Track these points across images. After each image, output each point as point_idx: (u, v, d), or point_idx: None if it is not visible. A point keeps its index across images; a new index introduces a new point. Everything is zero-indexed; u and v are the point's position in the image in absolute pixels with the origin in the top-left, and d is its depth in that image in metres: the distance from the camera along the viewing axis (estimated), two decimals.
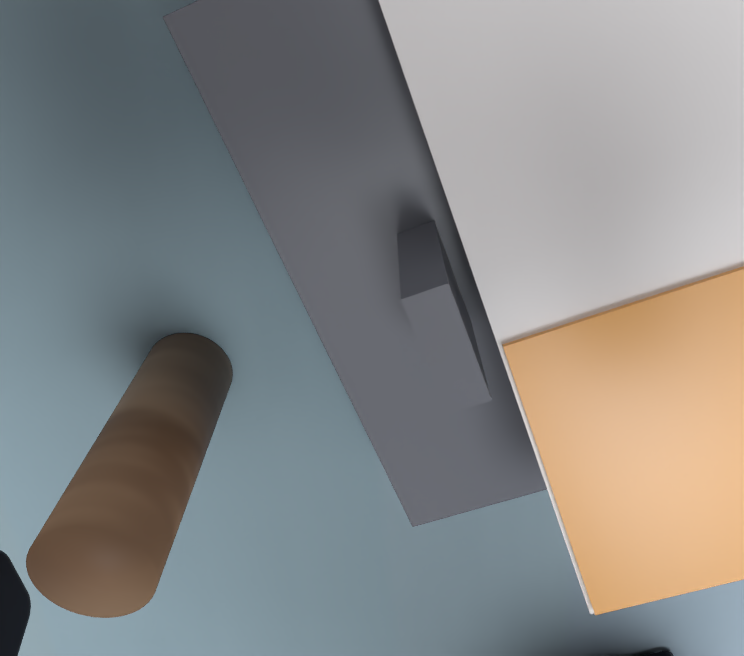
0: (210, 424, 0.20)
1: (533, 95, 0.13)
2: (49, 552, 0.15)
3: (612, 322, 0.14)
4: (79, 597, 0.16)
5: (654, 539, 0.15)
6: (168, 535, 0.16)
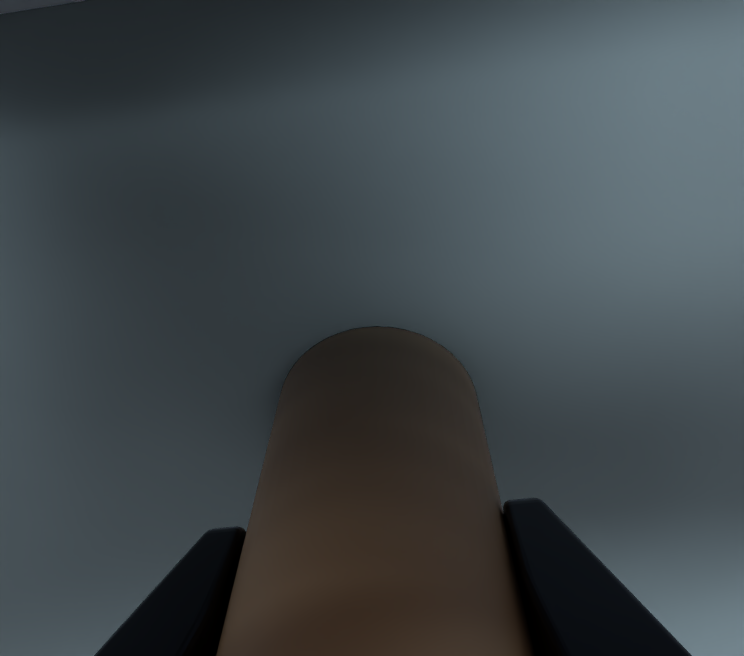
0: (400, 490, 0.06)
1: None
2: None
3: None
4: None
5: None
6: None
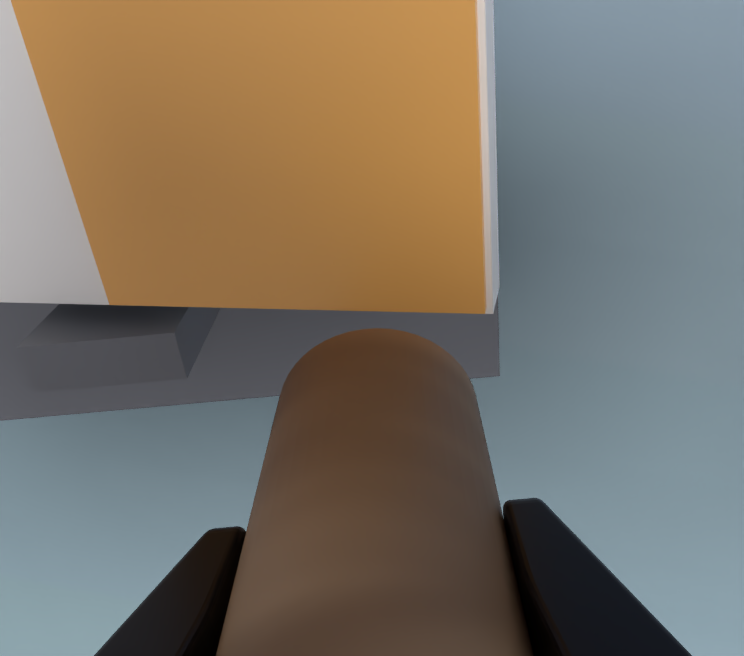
0: (399, 492, 0.06)
1: None
2: None
3: (83, 182, 0.11)
4: None
5: (378, 205, 0.10)
6: None
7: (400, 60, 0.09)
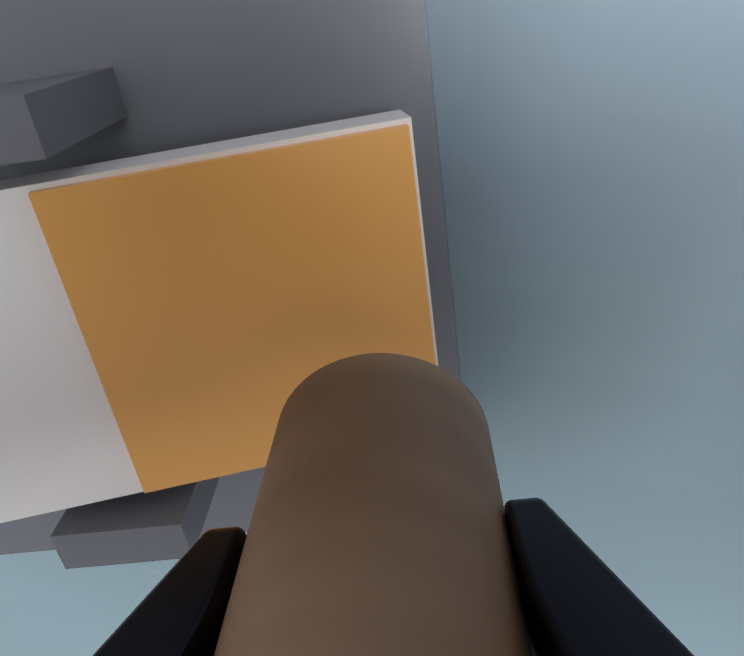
0: (400, 550, 0.06)
1: None
2: None
3: (123, 405, 0.14)
4: None
5: None
6: None
7: (378, 288, 0.13)
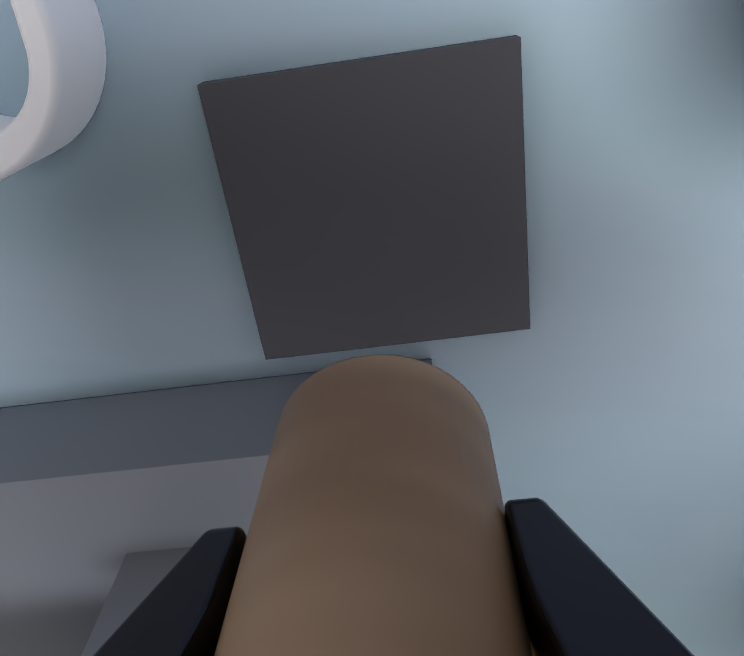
0: (400, 553, 0.06)
1: None
2: None
3: None
4: None
5: None
6: None
7: None
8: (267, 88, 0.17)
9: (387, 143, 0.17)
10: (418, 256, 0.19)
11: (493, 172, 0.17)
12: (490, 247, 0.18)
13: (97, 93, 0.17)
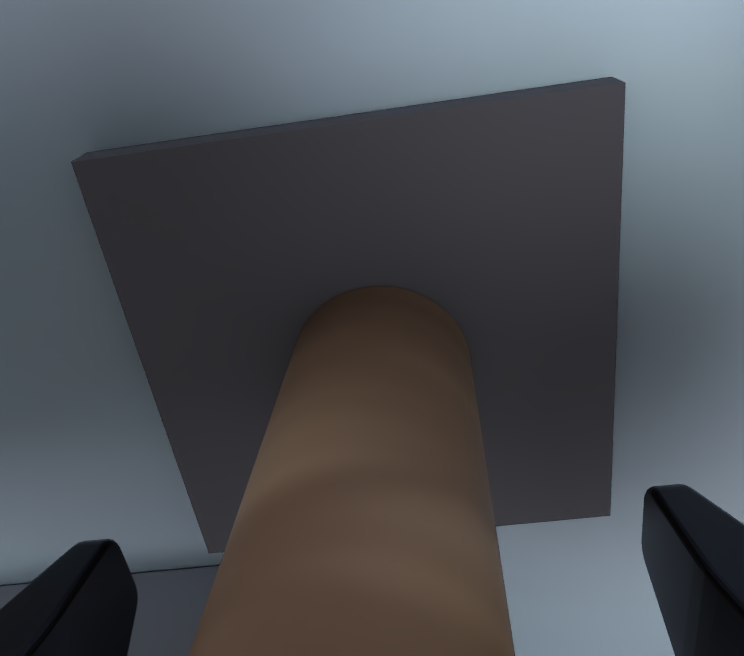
0: (388, 402, 0.08)
1: None
2: None
3: None
4: None
5: None
6: None
7: None
8: (190, 166, 0.10)
9: (392, 253, 0.10)
10: None
11: (566, 297, 0.11)
12: (555, 405, 0.12)
13: None
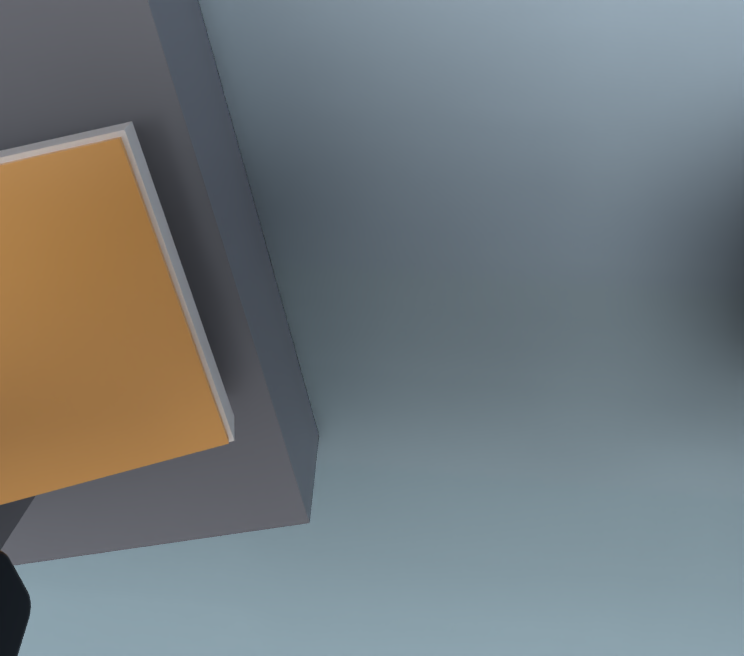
0: None
1: None
2: None
3: None
4: None
5: (134, 396, 0.14)
6: None
7: (124, 307, 0.13)
8: None
9: None
10: None
11: None
12: None
13: None
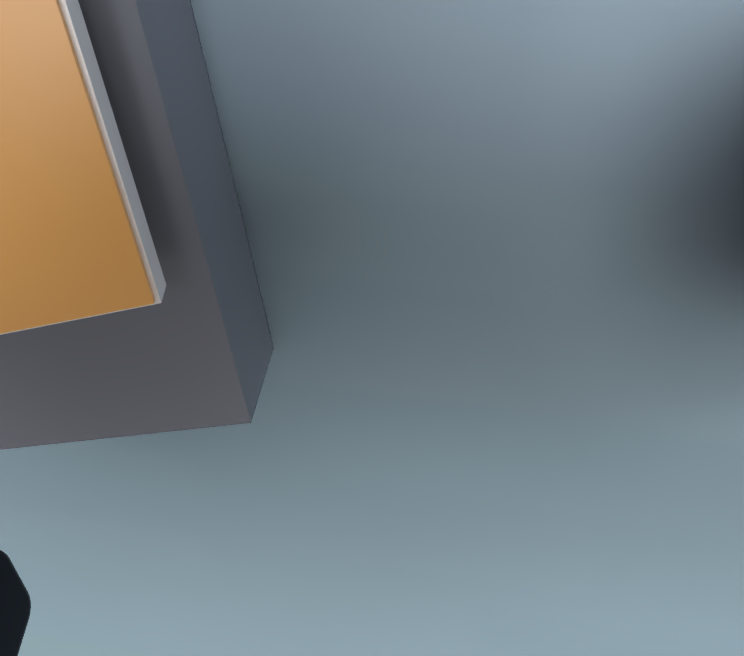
0: None
1: None
2: None
3: None
4: None
5: (47, 236, 0.13)
6: None
7: (36, 126, 0.12)
8: None
9: None
10: None
11: None
12: None
13: None
